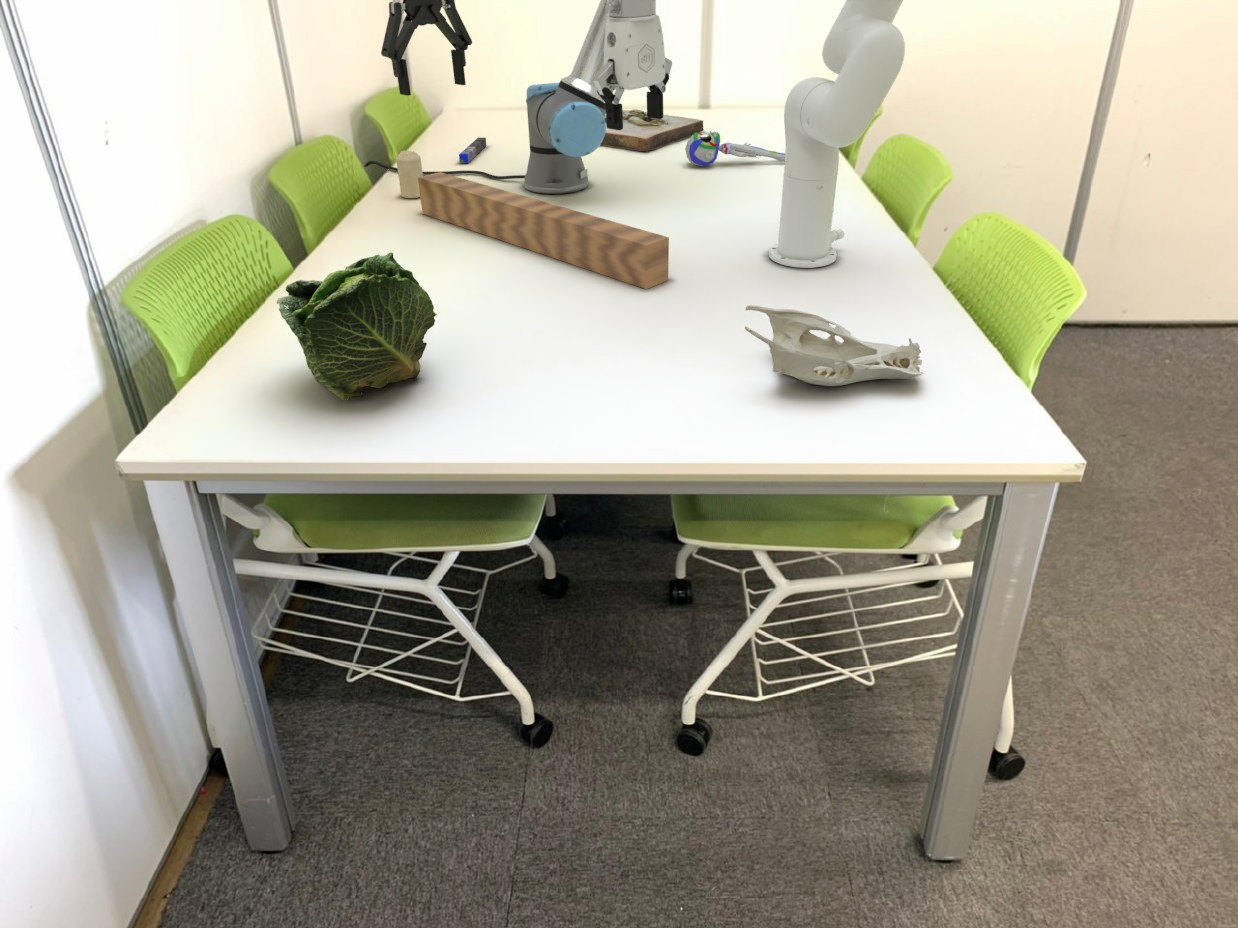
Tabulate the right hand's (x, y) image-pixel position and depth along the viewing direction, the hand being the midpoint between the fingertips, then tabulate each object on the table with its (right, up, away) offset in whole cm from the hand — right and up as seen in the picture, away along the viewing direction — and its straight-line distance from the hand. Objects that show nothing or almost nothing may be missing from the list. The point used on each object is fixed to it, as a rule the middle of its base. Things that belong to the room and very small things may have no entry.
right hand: (635, 123), depth 148 cm
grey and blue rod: (-42, +27, +94) cm, 107 cm away
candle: (-51, +6, +61) cm, 80 cm away
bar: (-20, -12, +31) cm, 39 cm away
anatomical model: (+27, -44, -20) cm, 56 cm away
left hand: (-40, +20, +34) cm, 57 cm away
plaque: (+2, +38, +111) cm, 117 cm away
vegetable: (-38, -45, -20) cm, 62 cm away
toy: (+29, +21, +82) cm, 90 cm away
